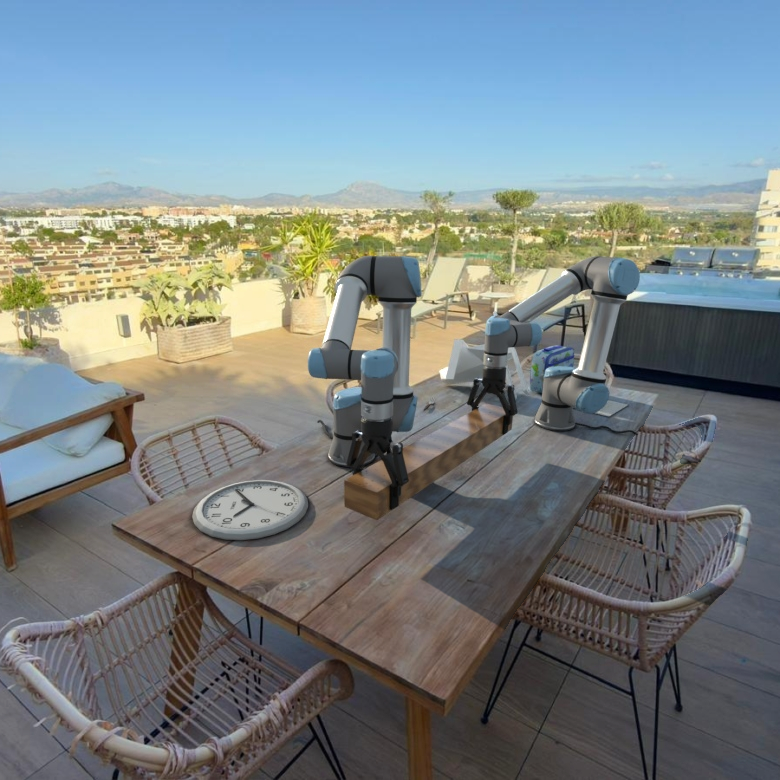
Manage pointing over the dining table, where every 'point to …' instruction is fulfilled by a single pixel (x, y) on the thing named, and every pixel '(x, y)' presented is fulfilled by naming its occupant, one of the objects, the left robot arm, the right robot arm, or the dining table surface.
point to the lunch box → (548, 363)
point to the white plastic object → (475, 365)
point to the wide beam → (425, 460)
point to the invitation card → (611, 408)
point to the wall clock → (250, 510)
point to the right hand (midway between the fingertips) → (490, 429)
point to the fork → (430, 403)
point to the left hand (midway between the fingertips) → (376, 500)
